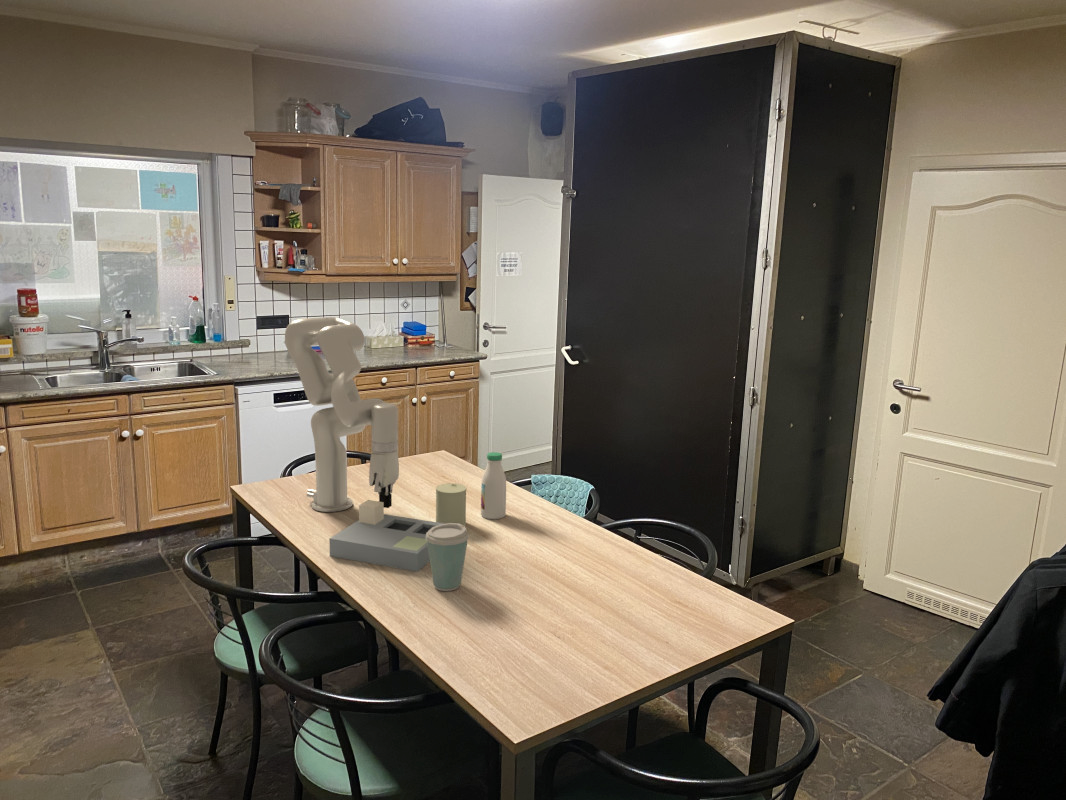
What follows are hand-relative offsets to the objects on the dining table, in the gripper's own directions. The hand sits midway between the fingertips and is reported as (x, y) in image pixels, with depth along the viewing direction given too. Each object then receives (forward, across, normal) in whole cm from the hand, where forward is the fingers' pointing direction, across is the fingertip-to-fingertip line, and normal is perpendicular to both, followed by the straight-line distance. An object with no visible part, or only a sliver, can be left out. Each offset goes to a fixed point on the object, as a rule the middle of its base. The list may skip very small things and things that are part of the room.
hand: (385, 506), depth 228 cm
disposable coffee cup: (+7, +28, +33) cm, 44 cm away
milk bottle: (+7, -22, +26) cm, 34 cm away
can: (+7, -10, +16) cm, 21 cm away
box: (+7, +13, +9) cm, 17 cm away
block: (+2, +8, 0) cm, 8 cm away
